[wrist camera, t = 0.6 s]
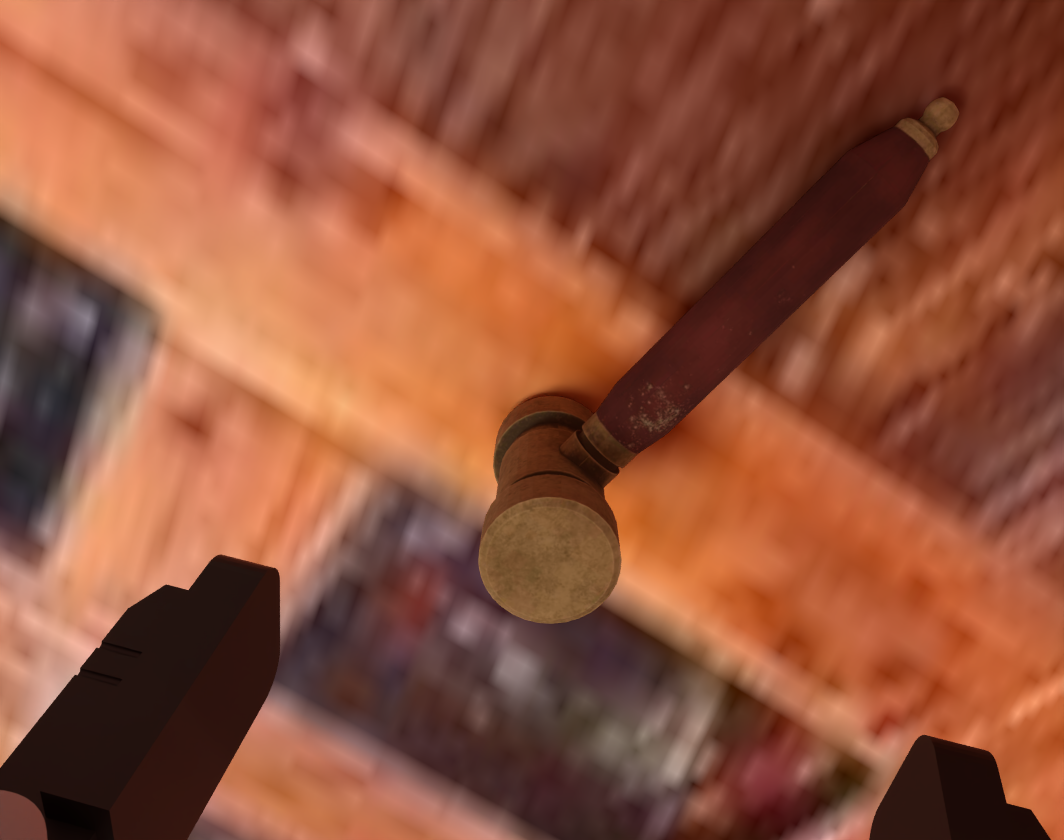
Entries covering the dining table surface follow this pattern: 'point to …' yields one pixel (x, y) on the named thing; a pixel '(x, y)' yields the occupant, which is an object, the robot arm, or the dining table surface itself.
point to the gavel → (674, 383)
